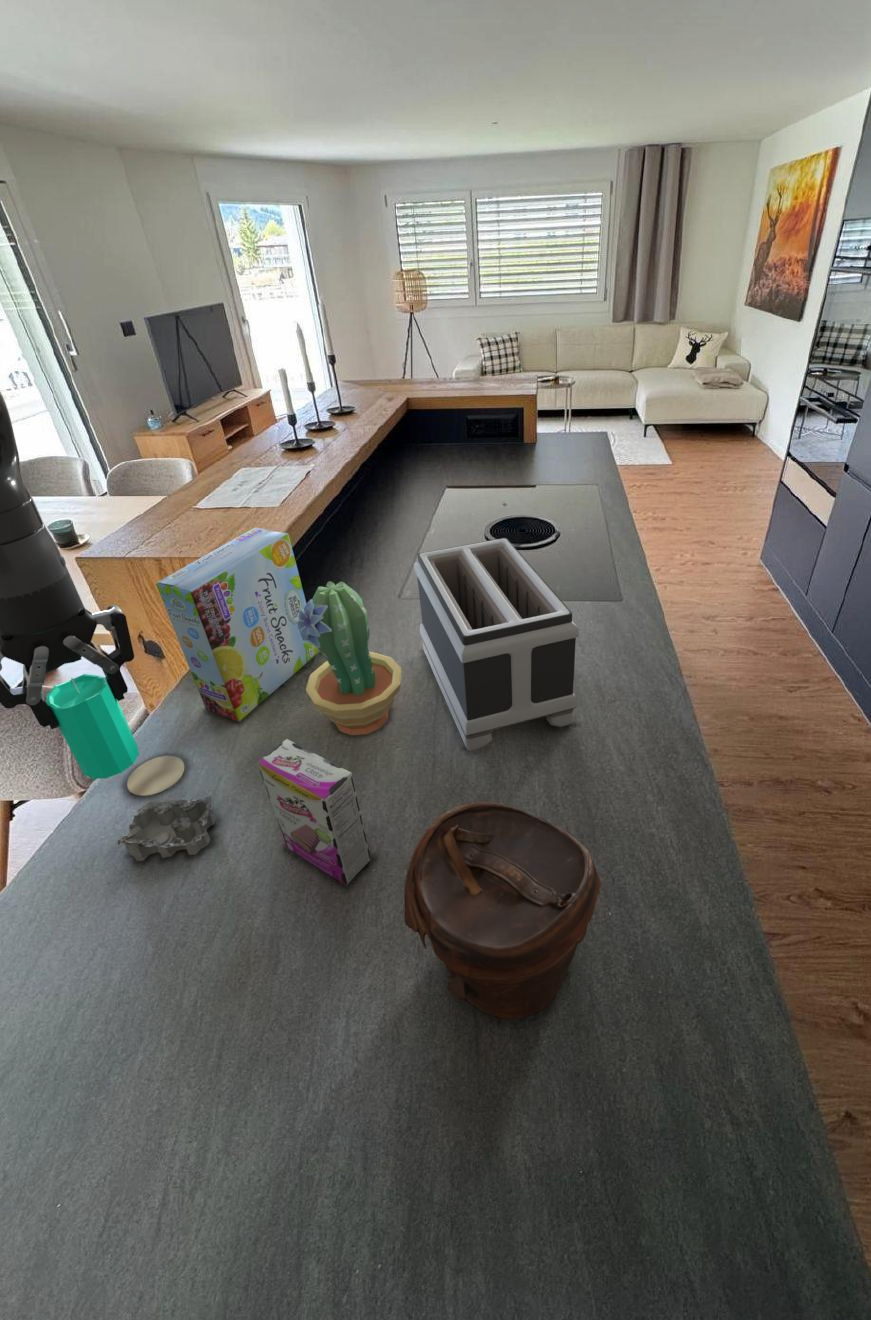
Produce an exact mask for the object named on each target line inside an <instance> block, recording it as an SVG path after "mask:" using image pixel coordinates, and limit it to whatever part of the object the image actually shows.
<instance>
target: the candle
mask: <svg viewBox="0 0 871 1320" xmlns="http://www.w3.org/2000/svg"><path fill="white" fill-rule="evenodd" d="M45 699H46V702H47V705H48V707H49V709H50V710H51V712H52V714H53V716H54V718H55V720H56V722H57V723H58V725H59V727H58V728H59V731H60V733H61V734H62V736H63V738H64V740H65V742H66V743H67V746H68V748H69V749H70V751H71V753H72V755H73V757H74V759H75V761H76V762H77V764H78V767H79V768H80V770H81V772H82V774H83V775H84V776H86V777H88V778H90V779H91V780H97V779H98V780H101V779H108V778H111V777H114V776H117V775H119V774H122V773H123V772H124V771H126V770H127V769H129V768H130V767H131V766H133V765H134V763H135V762H136V761H137V759H138V757H139V756H140V750H139V746H138V743H137V741H136V739H135V737H134V735H133V732H132V730H131V729H130V726H129V723H128V721H127V719H126V717H125V714H124V712H123V710H122V707H121V706H120V703H119V701H118V700H117V699H116V697H115V695H114V692H113V690H112V688H111V686H110V683H109V681H108V679H107V677H106V676H102V675H96V674H88V673H83V674H81V675H79V676H77V677H74V678H73V677H71V678H70V680H67V681H64V682H62V683H59V684H56V685H54V686H53V687H52V688H51V689H50V691H49V692H48V693H47V694H46V698H45Z"/></svg>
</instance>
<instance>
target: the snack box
mask: <svg viewBox="0 0 871 1320" xmlns="http://www.w3.org/2000/svg"><path fill="white" fill-rule="evenodd" d="M299 573H300V572H299V570H298V566H297V561H296V558H295V554H294V551H293V547H292V543H291V538H290V534H289V532H280V531H276V530H275V531H274V530H270V529H267V528H261V527H253V528H251V529H250V530H248V531H246V532H244V533H243V534H241V535H239V536H238V537H235V538H233V539H232V540H229V541H227V542H226V543H225V544H223V545H221V546H220V547H217V548H216V549H214V550H212V551H210V552H209V553H207V554H205V555H204V556H202V557H200V558H198V559H196V560H194V561H192V562H191V563H188V564H187V565H186V566H184V567H182V568H180V569H178V570H177V571H175V572H173V573H171V574H169V575H168V576H166V577H164V578H163V579H160V580H159V581H157V582H156V583H155V586H156V588H157V591H158V594H159V597H160V598H161V601H162V603H163V605H164V608H165V611H166V614H167V616H168V618H169V620H170V621H169V622H170V624H171V625H172V628H173V630H174V633H175V636H176V638H177V641H178V643H179V646H180V648H181V650H182V653H183V656H184V658H185V660H186V663H187V666H188V668H189V671H190V672H191V676H192V678H193V681H194V683H195V686H196V689H197V691H198V693H199V696H200V698H201V701H202V703H203V706H204V708H205V710H206V711H208V712H211V713H214V714H216V715H218V716H219V715H220V716H223V717H225V718H228V719H231V720H234V721H236V722H239V723H240V722H241V721H242V720H244V718H245V717H246V716H248V714H250V713H251V712H252V711H253V710H254V709H256V708H257V707H258V706H259V705H260V704H261V703H262V702H263V701H264V700H266V699H267V698H268V697H269V696H270V695H271V694H273V693H274V692H275V691H276V690H277V689H279V688H280V687H281V686H282V685H283V684H284V683H285V682H287V681H288V680H289V679H290V678H292V676H293V675H295V674H296V673H297V672H299V670H301V669H302V668H303V667H304V666H305V665H307V663H309V662H310V661H311V660H312V659H313V658H314V657H316V655H318V654H319V653H320V650H319V649H318V648H317V647H316V646H315V645H314V644H312V643H311V642H310V641H308V642H307V641H306V640H305V641H303V639H302V636H301V634H300V630H299V629H298V623H297V621H299V618H298V616H299V613H300V611H301V609H304V607H305V606H306V604H307V601H306V597H305V593H304V590H303V585H302V581H301V577H300V574H299Z"/></svg>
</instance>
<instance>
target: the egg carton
mask: <svg viewBox="0 0 871 1320" xmlns="http://www.w3.org/2000/svg"><path fill="white" fill-rule="evenodd" d="M216 820H217V818H216V816H215V814H214V811H213V809H212V796H211V795H209V796H206V797H202V798H201V797H200V798H199V799H193V798H191V799H187V798H182V799H177V800H176V799H175V800H169V801H161V800H160V801H159V800H157V801H156V800H153V801H148V802H147V803H145V804H143V805H142V806H141V807H140V808H138V810H137V811H136V813H135V814H134V815H133V820H132V821H131V822H130V823H129V828H128V829H129V831H128V833H127V835H126V833H124V834H123V835H122V837H121V839H119V840H117V845H118V846H119V845H120V844H124V846H125V848H126V850H127V852H128V853H129V855H130V856H132V857H133V858H134V859H135V860H136V861H137V862H143V861H145V860H146V859H147V858H148V857H149V856H151V855H153V854H155V853H156V854H157V853H159V854H160V855H161V857H162V858H163V859H165V858H170V857H173V856H174V854H176V853H177V852H178V851H181V850H186V851H187V853H188V855H189V856H190V855H192V856H193V855H197V854H198V853H199V852H200V851H201V850H202V849H203V848H205V847H207V846H208V845H209V843H210V841H211V838H210V836H209V834H208V831H207V830H208V828H210V827H211V826H214V825H215V823H216Z"/></svg>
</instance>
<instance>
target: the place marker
mask: <svg viewBox="0 0 871 1320" xmlns="http://www.w3.org/2000/svg"><path fill="white" fill-rule="evenodd" d="M184 772H185V763H184V761H183V760H182V759H181V758H179V757H178V756H174V755H163V756H158V757H154V758H151V759H149V760H147V761H145V762H143V763H142V764H140V765H139V766H137V768H135V769H134V770H133V771H132V773H131V774H130V775H129V777H128V779H127V782H126V786H127V790H128V791H129V793H131V795H134V796H138V797H149V796H150V797H151V796H154V795H159V794H160V793H163V792H165V791H167V790H168V789H170V788H172V787H173V786H174V785H175V784H177V782H178V781H180V780H181V778H182V776H183V775H184Z"/></svg>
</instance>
